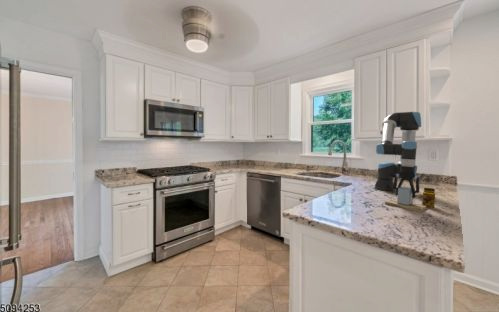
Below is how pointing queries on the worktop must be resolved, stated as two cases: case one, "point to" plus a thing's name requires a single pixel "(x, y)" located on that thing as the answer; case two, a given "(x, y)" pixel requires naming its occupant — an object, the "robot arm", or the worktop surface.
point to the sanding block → (404, 195)
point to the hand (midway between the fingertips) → (404, 201)
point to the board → (411, 207)
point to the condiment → (428, 198)
